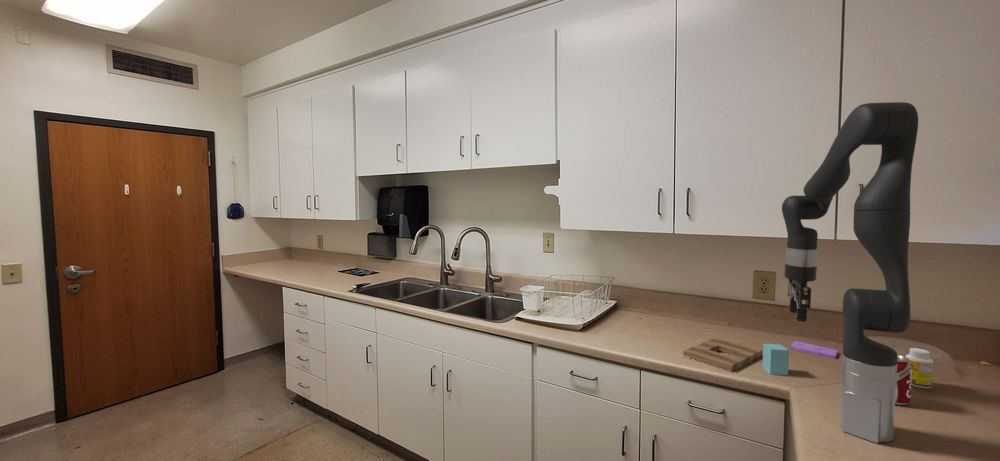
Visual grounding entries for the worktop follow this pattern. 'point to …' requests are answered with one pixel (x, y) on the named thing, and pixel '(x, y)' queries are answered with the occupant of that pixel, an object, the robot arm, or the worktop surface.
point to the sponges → (814, 349)
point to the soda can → (903, 381)
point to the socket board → (727, 362)
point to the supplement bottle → (921, 368)
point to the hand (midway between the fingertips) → (797, 316)
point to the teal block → (775, 359)
